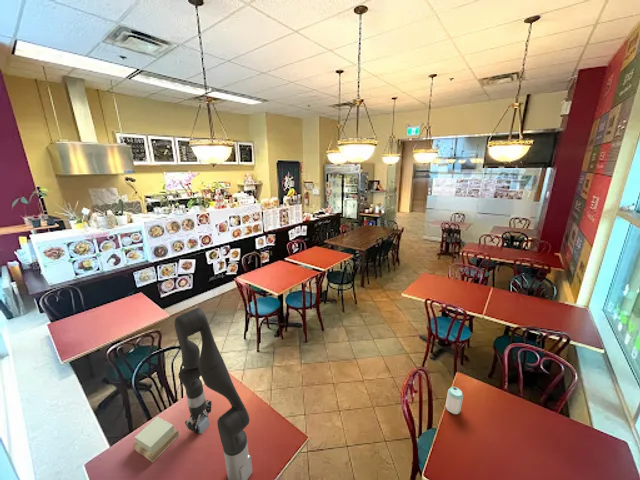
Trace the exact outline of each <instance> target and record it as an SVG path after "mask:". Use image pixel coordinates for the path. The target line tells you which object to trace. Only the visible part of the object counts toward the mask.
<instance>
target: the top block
mask: <svg viewBox="0 0 640 480" xmlns="http://www.w3.org/2000/svg"><path fill="white" fill-rule="evenodd" d="M174 428H175V426H174V424H173V423H170V422H168V421H166V420H165V419H163V418H161V417H159V416H156V417H155V418H154V419H153V420H151V422H149V423H148V424H147V425H146V426H145V427H144V428H143V429H142V430H140V432H138V433H137V434H136V435H135V436H134V440H135V442H136V444H138V445H139V446H141V447H142V448H144V449H145V450H147V451H148V452H150V453H152V454H153V453H154V452H155V451H156V450H157V449H158V448H159V447H160V446H161V445H162V444H163V443H164V442H165V441H166V440H167V439H168V438H169V437H170V436H171V435H172V434H173V433H174V432H175V431H174Z"/></svg>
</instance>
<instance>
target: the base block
mask: <svg viewBox="0 0 640 480" xmlns="http://www.w3.org/2000/svg"><path fill="white" fill-rule="evenodd" d="M174 431H175V432H174V433H173V434H172V435H171V436H170V437H169V438H168V439H167V440H166V441H165V442H164V443H163V444H162V445H161V446H160V447H159V448H158V449H157V450H156V451H155V452H154V453H153V454H152V453H150V452H148V451H147V450H145V449H144V448H142V447H141V446H139V445H138V444H136V441H135V442H134V443H133V444H132V445H133V449H134V451H136V452H137V453H138V454H140V455H141V456H143V457H145V458H146V459H147V460H148V461H150V462H151V463H154V462H155V461H156V460H157V459H158V458H159V457H160V456H161V455H162V454H163V453H164V452H165V451H166V450H167V449H168V448H169V447H170V446H171V445H172V444H173V443H174V442H175V441H176V440H177V439H178V438H179V437H180V433H179V430H178V429H176V428H175V427H174Z"/></svg>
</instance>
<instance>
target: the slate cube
mask: <svg viewBox="0 0 640 480" xmlns="http://www.w3.org/2000/svg"><path fill="white" fill-rule="evenodd" d="M208 418H209V416H208V417H206V416H204V415H203V416H202V417H201V418H200V419H199V423H198V426H197V427H198V431H199V432H198V433H197V434H200V435H202V434H203V433H205V431H206V430H207V429H208V427H209V426H210V422H209V420H208Z"/></svg>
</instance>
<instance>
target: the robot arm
mask: <svg viewBox="0 0 640 480" xmlns="http://www.w3.org/2000/svg"><path fill="white" fill-rule="evenodd" d="M208 321H209V320H208V319H207V316H206V314H205V312H204V310H203V309H202V308H201V307H196V308H193V309H191V310H189V311H187V312H184V313H182V314H179V315H178V316H177V317H175V319H174V323H173V324H174V331H175V334H176V337H177V342H178V344H179V347H180V352H181V363H182V367H183V368H182V367H181V369H180V370H179V372H178V376H177V377H178V379H179V381H180V382H181V384H182V385H183V387H184V388H185V393H186V398H187V405H188V411H189V413H190V417H189V419H188V420H185V422H184V424H185V425H186V428H187V429H188V430H189V431H191V432H193V433H195V434H199V433H198V432H199V431H198V427H197V426H198V423H199V419H200V418H201V417H202V416H203V415H204V416H206V417H208V420H209V415H210V413H211V412H212V402H213V401H212V400H210V399H206V394H205V391H204V385H205V386H206V388H208V389H210V390H212V391H214V392H215V393H218V394H220V395H222V396H223V397H224V398H225V399H226V400H227V401H228V402H229V404H230V408H229V409H228V410H226V411H225V412H224V413H223V414H222V415H220V416H219V417H218V419H217V421H216V422H217V423H216V425H217V429H218V433H219V438H220V443H221V445H222V449H223V456H224V463H225V469H226V470H225V471H226V474H227V475H226V476H227V480H248V479H250V477H251V475H252V473H253V472H254V471H253V462H252V456H251V455H250V453H249V446H248V445H249V444H248V439H247V438H248V436H247V434H246V433H247V432H245V430H244V429H246V428H247V426H248V425H249V424H250V420H251V419H250V415H249V413H248V411H247V408H246V406H245V405H244V402H243V400H242V399H241V397H240V395H239V393H238V391H237V390H236V389H237V388H236V387H235V385H234V383H233V380H232V378H231V376H230V373H229V370H228V368H227V366H226V363H225V361H224V359H223V357H222V354H221V353H220V350H219V348H218V346H217V344H216V341H215V338H214V336H213V333H212V329H211V327H210V324H209V322H208ZM197 333H200V337H201V349H200V348H199V346H198V344H197V343H196V342H193V341H192V340H190V339H189V337H190V336H193V335H195V334H197ZM200 350H201V351H200ZM200 377H201V378H202V380H201V379H200ZM202 381H203V382H202ZM203 383H204V385H203Z"/></svg>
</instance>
